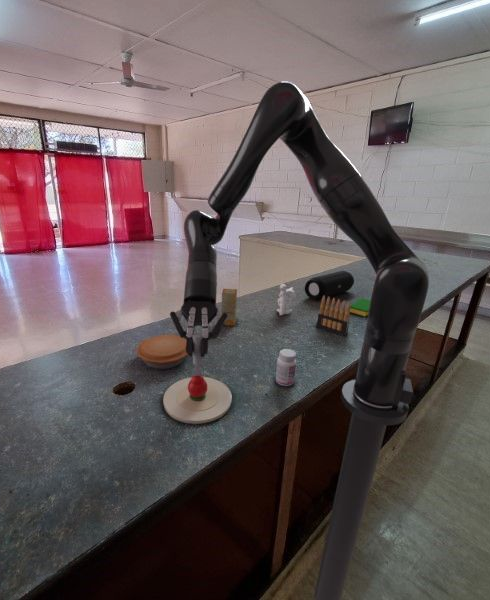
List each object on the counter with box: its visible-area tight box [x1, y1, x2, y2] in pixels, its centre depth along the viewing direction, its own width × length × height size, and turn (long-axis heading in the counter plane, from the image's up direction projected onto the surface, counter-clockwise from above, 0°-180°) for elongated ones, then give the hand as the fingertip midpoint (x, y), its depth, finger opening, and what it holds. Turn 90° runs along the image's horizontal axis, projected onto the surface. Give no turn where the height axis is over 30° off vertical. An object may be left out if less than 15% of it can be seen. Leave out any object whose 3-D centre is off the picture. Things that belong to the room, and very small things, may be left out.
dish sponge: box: [350, 297, 371, 317], centre depth 129 cm, size 7×14×2 cm, turn 137°
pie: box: [136, 334, 189, 370], centre depth 90 cm, size 15×16×5 cm
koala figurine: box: [276, 283, 297, 316], centre depth 123 cm, size 8×7×12 cm
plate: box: [162, 376, 233, 425], centre depth 74 cm, size 16×16×1 cm
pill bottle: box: [275, 348, 297, 387], centre depth 80 cm, size 5×5×8 cm
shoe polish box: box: [221, 288, 238, 327], centre depth 113 cm, size 5×5×12 cm
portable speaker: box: [304, 270, 355, 301], centre depth 144 cm, size 26×10×10 cm, turn 127°
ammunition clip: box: [315, 295, 351, 336], centre depth 109 cm, size 11×2×12 cm, turn 49°
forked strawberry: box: [188, 332, 208, 401], centre depth 71 cm, size 5×5×16 cm
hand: (196, 356), depth 68 cm, fingers closed on forked strawberry
